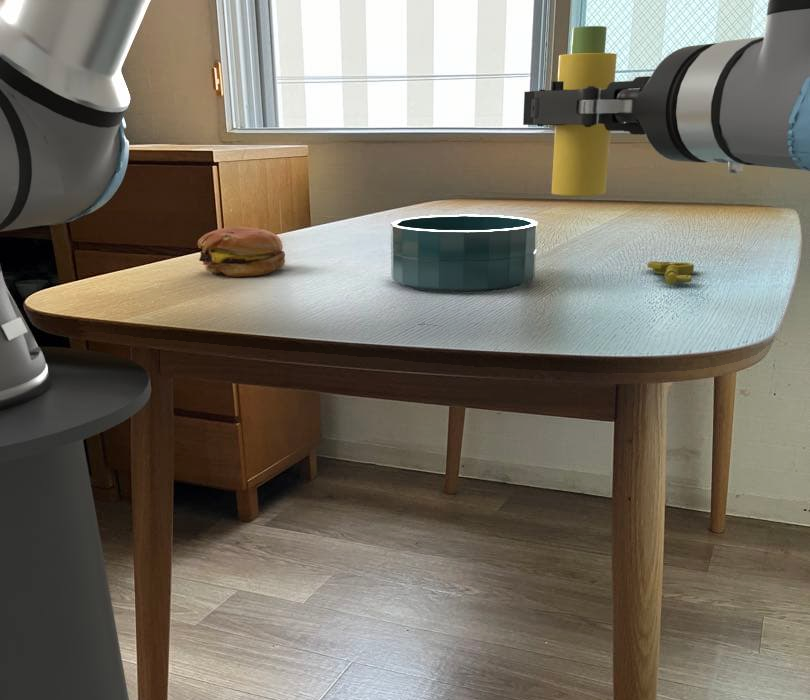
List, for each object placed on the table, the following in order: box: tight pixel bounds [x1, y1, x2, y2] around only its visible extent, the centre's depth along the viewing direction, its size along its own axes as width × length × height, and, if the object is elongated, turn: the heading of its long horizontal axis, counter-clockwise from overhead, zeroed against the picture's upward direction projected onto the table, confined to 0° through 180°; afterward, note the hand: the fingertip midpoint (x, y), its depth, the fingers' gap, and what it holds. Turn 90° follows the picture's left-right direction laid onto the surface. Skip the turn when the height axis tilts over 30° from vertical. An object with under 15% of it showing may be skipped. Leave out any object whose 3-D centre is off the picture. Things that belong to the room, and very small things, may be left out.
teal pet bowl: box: [390, 214, 538, 294], centre depth 94 cm, size 15×15×6 cm
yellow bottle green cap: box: [551, 25, 618, 197], centre depth 77 cm, size 5×5×13 cm
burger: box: [196, 226, 286, 278], centre depth 102 cm, size 10×9×5 cm
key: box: [646, 260, 695, 286], centre depth 96 cm, size 12×1×5 cm
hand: (554, 108), depth 81 cm, fingers closed on yellow bottle green cap, 5 cm apart
